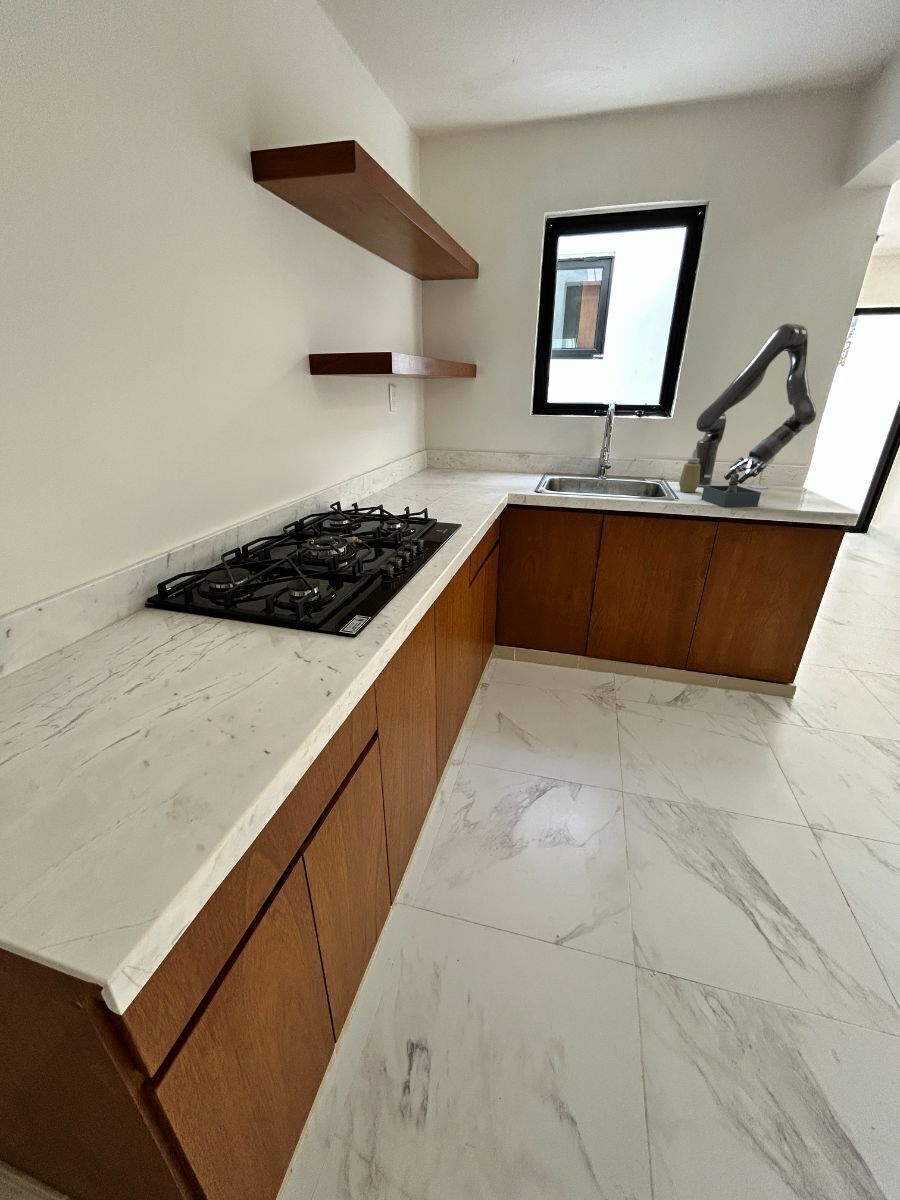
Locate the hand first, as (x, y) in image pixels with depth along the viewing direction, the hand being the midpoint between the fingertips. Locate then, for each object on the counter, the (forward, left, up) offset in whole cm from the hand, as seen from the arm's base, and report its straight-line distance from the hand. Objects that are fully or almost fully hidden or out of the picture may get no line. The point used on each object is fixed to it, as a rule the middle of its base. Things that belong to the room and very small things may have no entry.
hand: (731, 480), depth 198 cm
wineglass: (-32, +37, -9) cm, 49 cm away
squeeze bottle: (-24, -3, -9) cm, 26 cm away
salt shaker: (0, +1, -9) cm, 9 cm away
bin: (0, +1, -9) cm, 9 cm away
